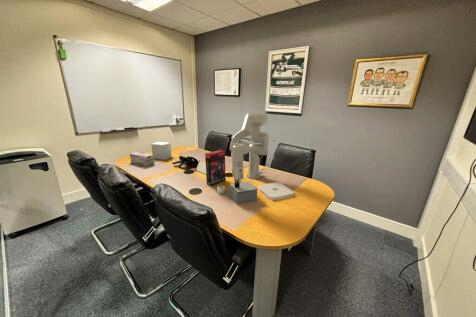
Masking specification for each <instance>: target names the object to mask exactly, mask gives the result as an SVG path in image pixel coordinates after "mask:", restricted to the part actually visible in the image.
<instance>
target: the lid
mask: <svg viewBox="0 0 476 317" xmlns="http://www.w3.org/2000/svg"><path fill="white" fill-rule="evenodd" d="M229 184H230V185H231V186H232V187H233V188H234V189H235V190H236V191H237V193H238V192H245V191H252V190H257V191H258V187H256V186H254V184H252V183H251V182H250V181H241V182H240V187H239V188H235V182H234V183H229ZM230 185H229V186H230Z"/></svg>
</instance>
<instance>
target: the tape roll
mask: <svg viewBox="0 0 476 317" xmlns="http://www.w3.org/2000/svg"><path fill="white" fill-rule="evenodd" d="M225 189H226V186H225V185H221V184H219V185H217V186H216V193H217V194H219V195H223V194H225V193H226V190H225Z"/></svg>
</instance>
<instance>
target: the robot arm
mask: <svg viewBox="0 0 476 317" xmlns="http://www.w3.org/2000/svg"><path fill="white" fill-rule="evenodd" d="M267 122H268V116H267V114H266V113H261V112H260V113H259V112H258V113H257V112H250V113H249V112H248V113H246V115H245V117H244V120H243V122H242V127H241V130H239V131H237V132H236V134H234V135H233V136H232V138H231V141H230V144H229V150H230V153H232V154H231V155H232V158H231V159H232V160H231V161H232V163H231V164H232V168H231V169H232V170H231V175H232V177H233V178H234V179H233V180H234V183H235V188H239V187H240V182H242V180H245V179H244V155H247V154H249V155H248V156H249V159H248V173H247V174H246V177H247V178H248V179H253V180H257V179H258V180H259V179H260V177H261V175H263V174H264V172H263V171H260V157H259V156H260V155H261V156H267V155H268V153H269V139H270V138H269V134H268V133H267V132H265V131H264V132H261V127H263V126H264V125H265V124H266V123H267ZM249 136H250V142H251V143H250V144H249V143H245V142H238V141H240V140H242V139H244V138H248V137H249Z"/></svg>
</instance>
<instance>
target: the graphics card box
mask: <svg viewBox="0 0 476 317" xmlns="http://www.w3.org/2000/svg"><path fill="white" fill-rule="evenodd" d="M204 156H205V157H204V158H205V178H206V185H208V186H211V187H213V186H214V185H217V184H220V183H222V182H225V181H226V151H225V150H222V149H219V150H215V151H209V152H207V153H206V152H205V154H204Z"/></svg>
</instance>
